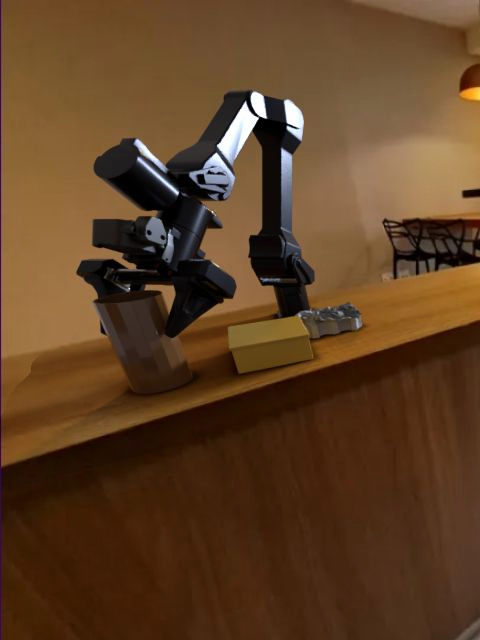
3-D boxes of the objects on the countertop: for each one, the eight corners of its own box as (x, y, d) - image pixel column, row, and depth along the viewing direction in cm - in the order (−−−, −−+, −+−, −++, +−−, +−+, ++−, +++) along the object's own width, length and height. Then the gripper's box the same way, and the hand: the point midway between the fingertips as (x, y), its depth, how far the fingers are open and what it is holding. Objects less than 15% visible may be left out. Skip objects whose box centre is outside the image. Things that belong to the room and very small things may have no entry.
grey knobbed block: (303, 341, 74) (298, 318, 72) (295, 330, 80) (289, 308, 78) (366, 329, 79) (362, 307, 78) (354, 319, 85) (350, 298, 83)
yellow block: (235, 350, 71) (227, 326, 69) (304, 338, 76) (298, 315, 74) (237, 374, 62) (228, 348, 60) (315, 359, 67) (309, 334, 65)
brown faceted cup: (136, 379, 61) (99, 294, 56) (193, 368, 64) (164, 287, 59) (128, 398, 56) (86, 307, 51) (191, 385, 59) (158, 298, 54)
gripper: (57, 193, 55) (-1, 302, 50) (191, 190, 52) (145, 305, 47) (138, 248, 65) (97, 343, 60) (252, 248, 63) (220, 347, 58)
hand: (136, 335), depth 56 cm, fingers open, 9 cm apart
